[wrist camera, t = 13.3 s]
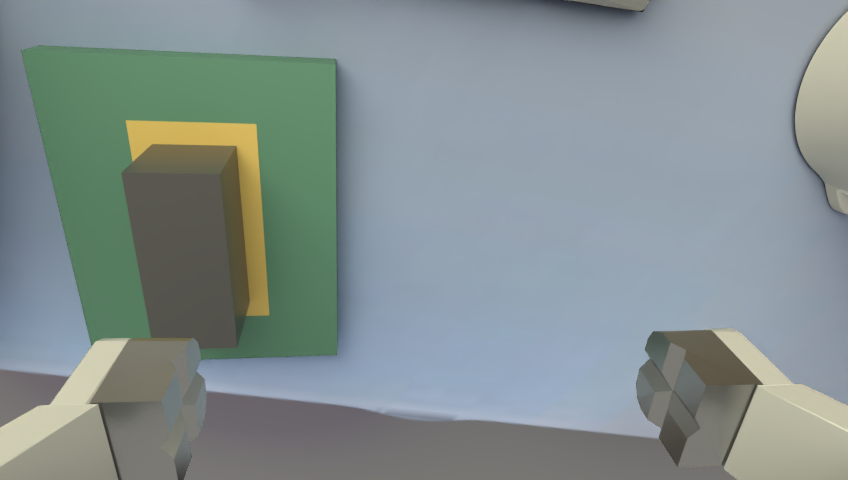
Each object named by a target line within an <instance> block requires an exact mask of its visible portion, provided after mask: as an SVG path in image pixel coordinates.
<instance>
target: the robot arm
mask: <svg viewBox="0 0 848 480" xmlns="http://www.w3.org/2000/svg"><path fill="white" fill-rule="evenodd" d="M795 130H796V137H797V141H798V145H799V148H800V150H801V153H802V155H803V157H804V158H805V160H806V161H807V163H808V164H809V165H810V167H811V168H812V169H813V170H814V171H815V172H816V173H817V174H818V175H819V176H820V177H821V178H822V179H823V181H824V183H825V187H826V192H827V197H828V200H829V203H830V206H831V207H832V208H833V209H834V210H835V211H838V212H841V213H844V214H847V215H848V11H847V12H846V13H845V14H844V15H843V16H842V17H841V19H840V20H839V21H838V22H837V23H836V24H835V25H834V27H833V28H832V29H831V30H830V32H829V33H828V34H827V36H826V37H825V38H824V40H823V41H822V43H821V44H820V46H819V47H818V49H817V51H816V53H815V54H814V56H813V58H812V60H811V62H810V64H809V66H808V68H807V70H806V73H805V75H804V78H803V81H802V84H801V87H800V90H799V94H798V98H797V104H796V111H795ZM645 351H646V352H647V354H648V356H649V358H650V359H649V360H648V361H647V362H646V363H645V364H644V365H643V366H642V367H641V368H640V369H639V373H638V377H637V381H636V390H637V399H638V402H639V405H640V408H641V410H642V411H643V413H644V415H645V416H646V418H647V419H648V420H649V421H651V422H652V423H654V424H655V425H657V426H658V427H660V428H661V431H660V435H659V439H660V440H661V442H662V444H663V445H664V447H665V448H666V450H667V452H668V453H669V454H670V456H671V458H672V459H673V461H674V463H675V464H676V465H677V467H721V466H722V467H723V466H724V470H726V471H727V472H728V473H730V474H731V475H732V476H733V477H735V478H736V479H737V480H848V406H847V405H845V404H843V403H841V402H839V401H837V400H835V399H832V398H830V397H828V396H826V395H824V394H822V393H820V392H817V391H815V390H813V389H811V388H809V387H807V386H805V385H803V384H793V383H792V382H791V381H790V380H789V379H788V378H787V377H786V376H785V375H784V374H783V373H782V372H780V371H779V370H778V369H777V368H776V367H775V366H774V365H773V364H772V363H771V362H770V361H769V360H768V359H767V358H766V357H765V356H764V355H763V354H762V353H761V352H760V351H759V350H758V349H757V348H756V347H755V346H754V345H753V344H751V343H750V342H749V341H748V340H747V339H746V338H745V337H744V336H743V335H742V334H741V333H740V332H739V331H736V330H734V329H732V328H722V329H705V330H690V331H653V333H652V334H651V335H650V337H649V338H648V341H647V344H646V347H645ZM200 360H201V355H200V350H199V344H198V342H197V341H196V340H195V339H194V338H133V339H132V338H102V339H100V340H98V341H96V342H95V343H94V344H93V345H92V347H91V348H90V349H89V351H88V352H87V354H86V355H85V356H84V358H83V359H82V360H81V362H80V363H79V365H78V366H77V367H76V369H75V370H74V372H73V373H72V374H71V376H70V377H69V379H68V380H67V381H66V383H65V384H64V386H63V387H62V389H61V390H60V391H59V393H58V394H57V395H56V397H55V398H54V400H53V401H52V402H51V404H50V405H42V406H38V407H36V408H34V409H32V410H30V411H29V412H27V413H25V414H23V415H22V416H20V417H18V418H16V419H15V420H13V421H11V422H9V423H7V424H6V425H4V426H2V427H0V480H184V477H185V474H186V471H187V469H188V466H189V463H190V460H191V457H192V454H191V447H190V442H191V441H192V440H193V439H195V438H196V437H197V436H198V435H199V434H200V431H201V428H202V425H203V422H204V416H205V409H206V387H205V380H204V378H203V377H202V376H201V375H199V374H198V373H197V372H196V370H197V368H198V365H199V363H200Z"/></svg>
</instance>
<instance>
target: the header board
mask: <svg viewBox="0 0 848 480" xmlns="http://www.w3.org/2000/svg"><path fill="white" fill-rule="evenodd" d="M21 52H22V56H23V60H24V64H25V69H26V73H27V77H28V81H29V85H30V90H31V94H32V98H33V102H34V106H35V111H36V115H37V119H38V123H39V127H40V132H41V136H42V140H43V144H44V148H45V153H46V157H47V161H48V165H49V169H50V174H51V178H52V182H53V186H54V190H55V195H56V199H57V203H58V207H59V211H60V216H61V220H62V224H63V228H64V232H65V237H66V241H67V245H68V249H69V253H70V258H71V262H72V266H73V270H74V274H75V279H76V283H77V287H78V291H79V295H80V300H81V304H82V308H83V312H84V316H85V321H86V325H87V329H88V333H89V337H90V342H91V346H92V345H93V344H94V343H95V342H96V341H98V340H100V339H102V338H132V339H133V338H151V334H150V329H149V323H148V318H147V312H146V307H145V301H144V296H143V290H142V285H141V279H140V274H139V268H138V263H137V257H136V252H135V246H134V241H133V235H132V230H131V224H130V219H129V213H128V208H127V202H126V197H125V191H124V186H123V180H122V175H121V172H122V171H124V170H125V169H126V168H127V167H128V166H129V165H130V164H131V163H132V162H133V161H134V160H135V159H136V158H138V157H139V156H140V155H141V154H142V153H143V152H144V151H145V150H146V149H147V148H148V147H149V146H151V145H152V144H174V145H221V146H236V147H237V159H238V170H239V182H240V193H241V205H242V217H243V228H244V240H245V252H246V263H247V275H248V286H249V298H250V303H249V307H248V310H247V314H246V318H245V322H244V325H243V329H242V333H241V336H240V340H239V344H238V347H237V348H211V349H199V350H200V355H201V359H230V358H260V357H290V356H320V355H337V199H336V59H322V58H300V57H278V56H256V55H234V54H213V53H191V52H169V51H147V50H125V49H103V48H81V47H60V46H36V47H32V48H28V49H24V50H21Z"/></svg>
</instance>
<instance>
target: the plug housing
mask: <svg viewBox="0 0 848 480" xmlns="http://www.w3.org/2000/svg"><path fill="white" fill-rule="evenodd" d="M121 175H122V180H123V186H124V191H125V197H126V202H127V208H128V213H129V219H130V224H131V230H132V235H133V241H134V246H135V252H136V257H137V263H138V268H139V274H140V279H141V285H142V290H143V296H144V301H145V307H146V312H147V318H148V323H149V329H150V334H151V338H194V339H195V340H196V341H197V342H198V344H199V349H211V348H237V347H238V344H239V340H240V336H241V333H242V329H243V325H244V322H245V318H246V314H247V310H248V307H249V303H250V298H249V286H248V275H247V263H246V252H245V240H244V228H243V217H242V205H241V193H240V182H239V170H238V159H237V147H236V146H221V145H174V144H152V145H151V146H149V147H148V148H147V149H146V150H145V151H144V152H143V153H142V154H141V155H140V156H139V157H138V158H136V159H135V160H134V161H133V162H132V163H131V164H130V165H129V166H128V167H127V168H126V169H125V170H124V171H122V172H121Z"/></svg>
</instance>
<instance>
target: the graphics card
mask: <svg viewBox="0 0 848 480" xmlns="http://www.w3.org/2000/svg"><path fill="white" fill-rule="evenodd" d="M565 1H573V2H580V3H587V4H594V5H601V6H608V7H614V8H620V9H626V10H633V11H639V12H643V11H644V9H645V8H646V6H647V4H648V3H649V1H650V0H565Z"/></svg>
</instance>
